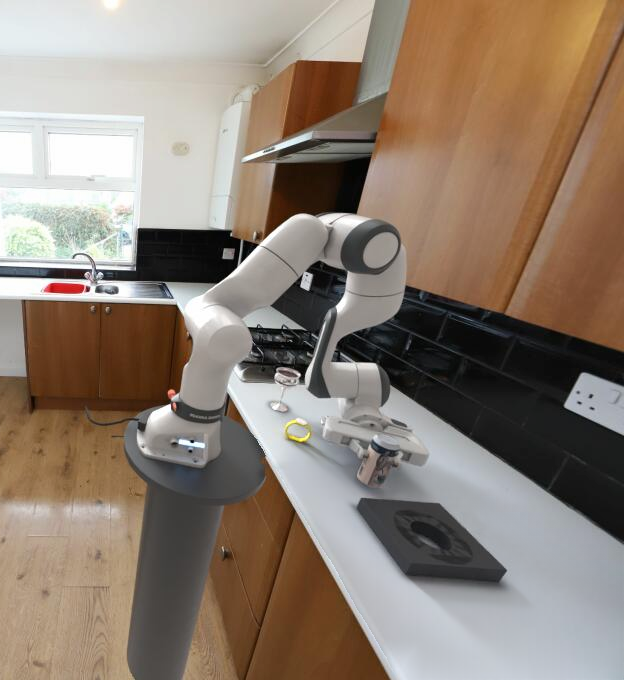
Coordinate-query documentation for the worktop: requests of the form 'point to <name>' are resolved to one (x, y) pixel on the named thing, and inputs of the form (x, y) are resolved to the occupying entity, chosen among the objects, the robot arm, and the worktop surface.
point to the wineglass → (285, 384)
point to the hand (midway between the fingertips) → (380, 461)
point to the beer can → (378, 460)
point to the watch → (301, 423)
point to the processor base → (439, 525)
